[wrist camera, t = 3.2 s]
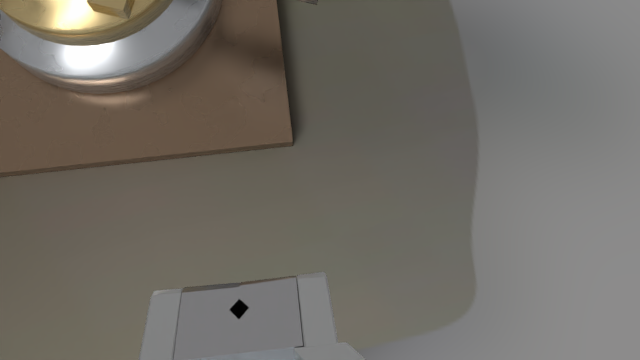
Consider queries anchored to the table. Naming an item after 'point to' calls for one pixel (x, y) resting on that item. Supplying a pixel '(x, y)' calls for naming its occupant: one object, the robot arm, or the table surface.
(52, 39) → the grey and yellow model
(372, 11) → the table surface
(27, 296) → the table surface
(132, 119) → the housing
